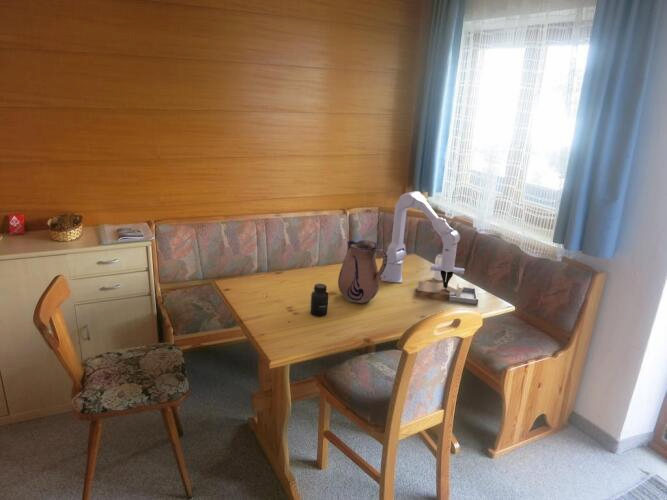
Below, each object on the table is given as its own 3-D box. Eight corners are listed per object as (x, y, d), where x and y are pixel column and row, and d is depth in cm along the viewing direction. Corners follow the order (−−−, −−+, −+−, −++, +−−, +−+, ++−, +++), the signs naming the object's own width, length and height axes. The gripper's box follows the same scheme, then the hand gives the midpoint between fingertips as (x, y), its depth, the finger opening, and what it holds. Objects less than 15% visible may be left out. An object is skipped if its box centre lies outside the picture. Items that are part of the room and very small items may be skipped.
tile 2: (458, 287, 213) (463, 288, 213) (458, 283, 217) (462, 285, 217) (454, 295, 215) (459, 297, 214) (454, 292, 219) (458, 293, 219)
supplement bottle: (321, 319, 188) (322, 290, 184) (306, 314, 191) (307, 286, 188) (330, 313, 193) (332, 285, 190) (316, 308, 197) (317, 281, 193)
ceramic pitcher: (347, 288, 219) (350, 235, 212) (391, 298, 211) (396, 243, 203) (330, 301, 204) (333, 245, 197) (376, 313, 196) (381, 254, 188)
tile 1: (446, 289, 215) (447, 285, 214) (445, 286, 219) (447, 282, 218) (455, 293, 214) (457, 289, 214) (455, 290, 219) (457, 286, 218)
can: (447, 281, 235) (450, 258, 231) (434, 280, 235) (437, 257, 231) (445, 276, 241) (448, 254, 237) (432, 276, 241) (434, 253, 238)
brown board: (416, 296, 215) (417, 290, 214) (418, 287, 226) (418, 281, 225) (449, 300, 212) (449, 294, 211) (448, 290, 223) (449, 284, 222)
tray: (449, 301, 211) (449, 296, 210) (448, 290, 224) (449, 285, 223) (477, 305, 209) (478, 299, 208) (475, 293, 222) (476, 288, 221)
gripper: (431, 258, 210) (428, 288, 214) (465, 262, 208) (461, 292, 212) (431, 254, 217) (428, 282, 221) (465, 257, 214) (461, 286, 218)
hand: (444, 286), depth 217 cm, fingers closed
